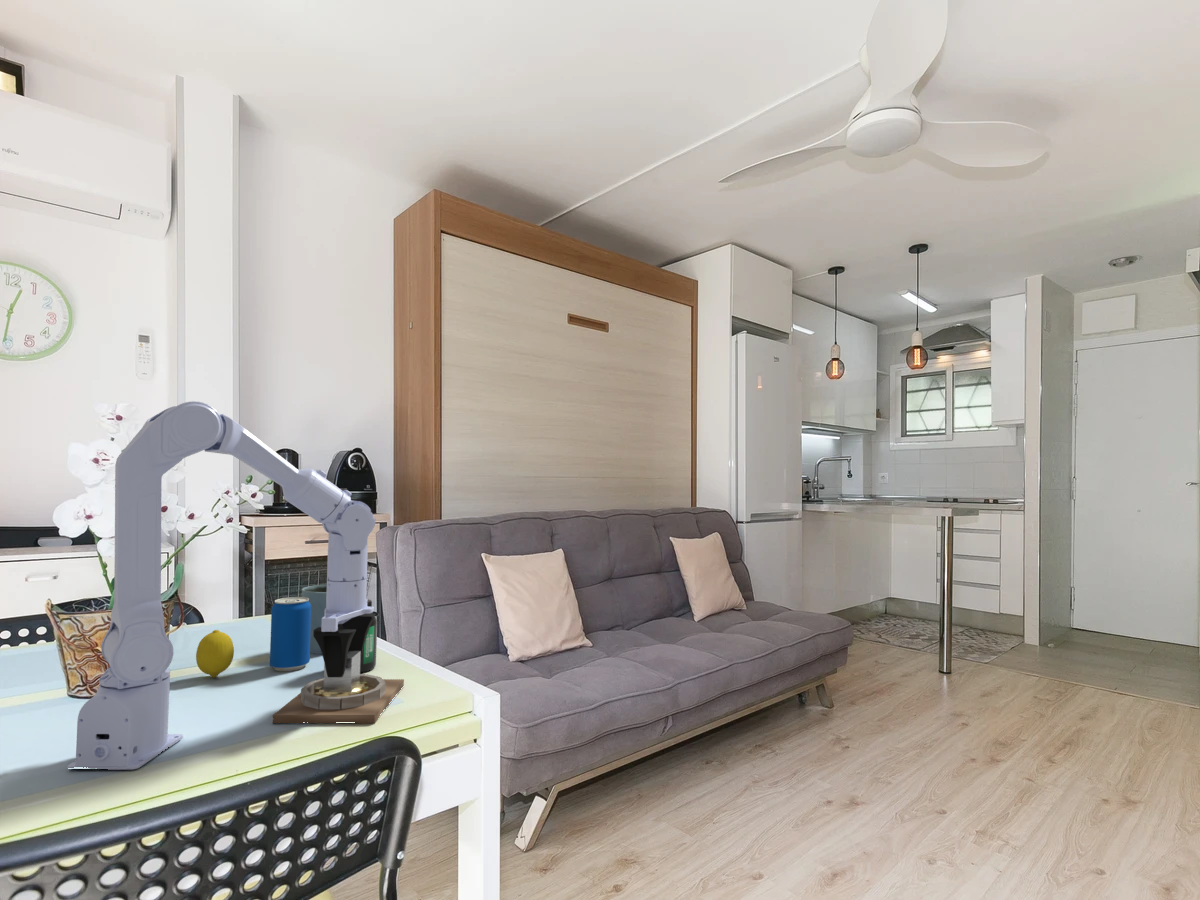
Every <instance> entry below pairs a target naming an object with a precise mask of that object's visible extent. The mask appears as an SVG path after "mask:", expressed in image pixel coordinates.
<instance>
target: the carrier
mask: <svg viewBox="0 0 1200 900" xmlns="http://www.w3.org/2000/svg"><path fill="white" fill-rule="evenodd" d="M364 681H365V682H367V683H368V687H369V691H367V692H364V693H361V694H356V695H350V696H343V697H321V696H317V695H314V692H315V688H316V687H322V686H324V677H323V678H319V679H318V678H317V679H315V680H311V681H310V682H308V683H307V684H305V685H304V686H303V687H302V688H301V689H300V692H299V693H298V694H297V695H296V696H295V697H293V698H292V699H291V700H290V701H289V702H287V703H286V704H285V705H284V706H282V707H281V708H280V709H278V710H277V711H276V712H275V713H273V714H272V723H303V722H305V723H307V722H308V723H336V722H355V723H359V725H360V724H363V725H364V724H365V725H366V724H376V722H377V721H378V720H379V719H380V717H381V716H380V714H381V713H382V712H383V710H384V709H385V708H386V707H387V706H388V705H389V703H390V702H391V701H392V699H393V698H394V697H395V695H396V694H397V693H398V692H399V691H400V690H401V688H402V687H403V686H404V685H405V679H404V678H401V679H400V678H397V679H394V678H393V679H392V678H391V679H389V678H387V679H384V678H382V677H381V676H378V675H372V674H368V673H367V674H366V673H360V682H364ZM404 687H405V686H404ZM404 687H403V688H404ZM403 688H402V689H403ZM401 691H402V690H401ZM401 691H400V692H401ZM400 692H399V693H400ZM399 693H398V694H399ZM395 698H396V697H395ZM395 698H394V699H395ZM392 702H393V701H392ZM392 702H391V703H392ZM391 703H390V704H391ZM389 706H390V705H389ZM389 706H388V707H389ZM388 707H387V708H388ZM383 713H384V712H383ZM379 716H380V717H379ZM378 718H379V719H378ZM272 723H271V724H272Z"/></svg>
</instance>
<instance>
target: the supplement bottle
mask: <svg viewBox="0 0 1200 900" xmlns="http://www.w3.org/2000/svg"><path fill="white" fill-rule="evenodd" d="M367 599H368V600H367V606H368V607H373V601H372V600H371V599H369V598H367ZM377 635H378V619H377V618H376V617H375V618H374V620H373V622H372V624H371V626H370V628H369V631H368V633H367V636H366V640H365V644H364V648H363V653H362V656H361V660H360V674H364V673H367V671H368V672H370V671H369V670H371V671H373V670H374V669H375V668H376V666H377V665H376V664H377V644H378V643H377V642H378V638H377ZM373 668H374V669H373ZM363 672H364V673H363Z"/></svg>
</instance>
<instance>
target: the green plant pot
mask: <svg viewBox="0 0 1200 900" xmlns="http://www.w3.org/2000/svg"><path fill="white" fill-rule="evenodd" d="M326 593H327V583H326V584H325V583H324V584H317V585H310V586H304V587H303V588H302V589H301V597H306V598H309V600H308V601H309V603H310V604H311V630H310V655H322V652H321V649H320V647H319V645H318V643H317V641H316V639H315V638H314V636H313V630H314V629H316V628H318V627H321V626H322V618H323V617H324V612H325V608H326Z"/></svg>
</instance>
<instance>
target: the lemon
mask: <svg viewBox="0 0 1200 900" xmlns="http://www.w3.org/2000/svg"><path fill="white" fill-rule="evenodd" d="M234 652H235V649H234V643H233V640H232V638H231V637H230V636H229V634H227V633H225V632H223V631H220V630H219V629H214V630H212V632H210V633H207V634H206V635H205V636H203V638H202V639H201V640H200V641H199V643H198V645H197V648H196V652H195V660H196V664H197V667H198V669H199V670H200V671H201V672H202V673H203V674H206V675H209V676H210V677H211V678H217V677H219V675H220V674H221V673H223V672H225V671H226V670H227V669H228V668H229V667H230V666H231V664H232V662H233V659H234Z"/></svg>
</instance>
